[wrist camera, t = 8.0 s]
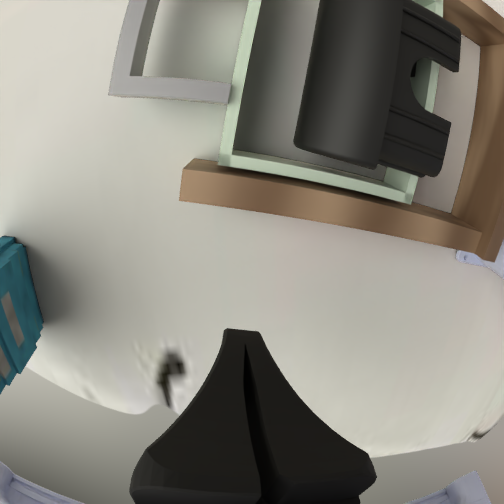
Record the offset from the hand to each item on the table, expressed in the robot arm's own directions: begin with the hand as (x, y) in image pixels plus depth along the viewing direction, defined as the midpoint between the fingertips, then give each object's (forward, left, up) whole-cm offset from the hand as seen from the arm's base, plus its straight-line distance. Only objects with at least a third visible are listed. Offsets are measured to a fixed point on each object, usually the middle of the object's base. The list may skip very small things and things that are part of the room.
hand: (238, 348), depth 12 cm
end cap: (-5, -12, -10) cm, 17 cm away
